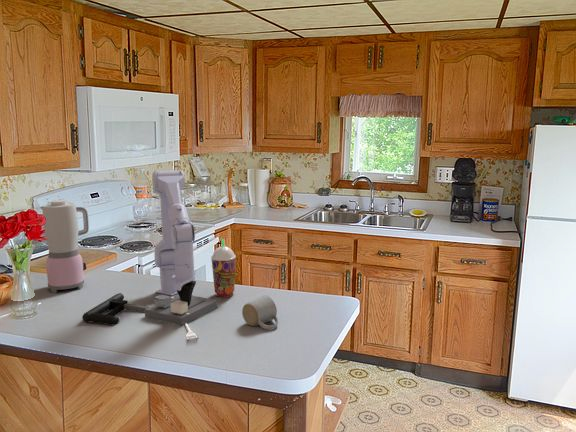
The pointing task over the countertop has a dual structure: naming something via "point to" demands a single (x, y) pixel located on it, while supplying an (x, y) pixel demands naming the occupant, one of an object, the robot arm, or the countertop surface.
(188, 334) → the fork
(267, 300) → the ceramic mug
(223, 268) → the smoothie
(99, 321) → the gun
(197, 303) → the gray slider board
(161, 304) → the steel fader
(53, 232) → the blender
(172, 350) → the countertop surface
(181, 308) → the block
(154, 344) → the countertop surface
